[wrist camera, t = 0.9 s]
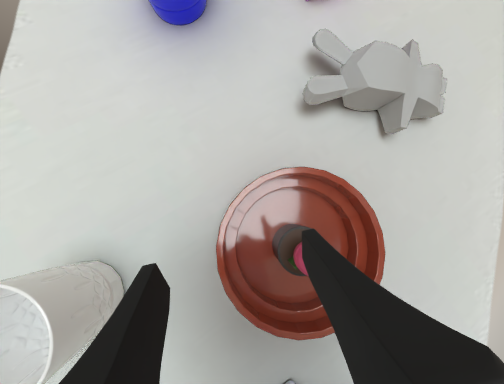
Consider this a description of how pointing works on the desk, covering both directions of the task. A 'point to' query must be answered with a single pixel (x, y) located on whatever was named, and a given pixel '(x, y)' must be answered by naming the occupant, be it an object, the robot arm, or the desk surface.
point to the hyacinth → (178, 10)
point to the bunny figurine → (379, 81)
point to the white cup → (53, 317)
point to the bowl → (267, 265)
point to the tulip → (290, 248)
